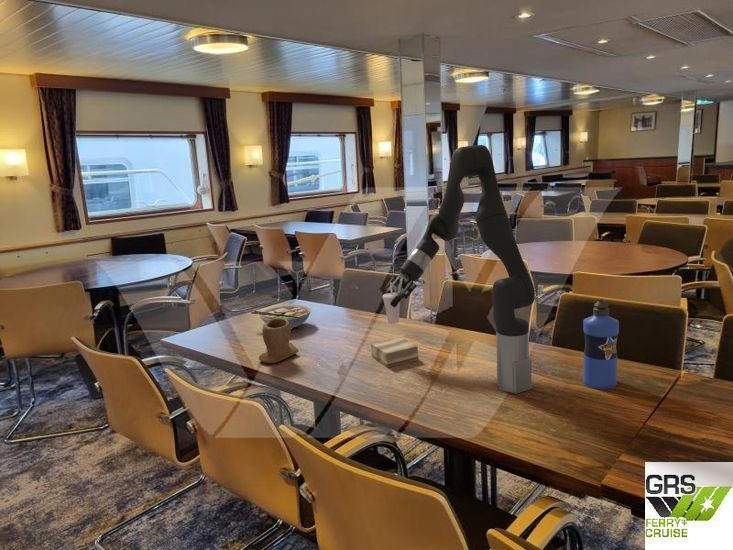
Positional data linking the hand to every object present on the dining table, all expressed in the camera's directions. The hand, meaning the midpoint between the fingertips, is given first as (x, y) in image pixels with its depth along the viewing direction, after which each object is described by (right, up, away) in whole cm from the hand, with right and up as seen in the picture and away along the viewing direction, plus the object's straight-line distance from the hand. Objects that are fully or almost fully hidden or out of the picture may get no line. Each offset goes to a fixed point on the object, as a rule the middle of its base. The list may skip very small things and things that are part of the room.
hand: (387, 303), depth 185 cm
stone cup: (-39, -21, +13) cm, 46 cm away
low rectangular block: (+3, -20, +5) cm, 20 cm away
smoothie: (+2, -7, +2) cm, 7 cm away
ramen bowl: (-42, -13, +50) cm, 66 cm away
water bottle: (+61, -22, -26) cm, 70 cm away
